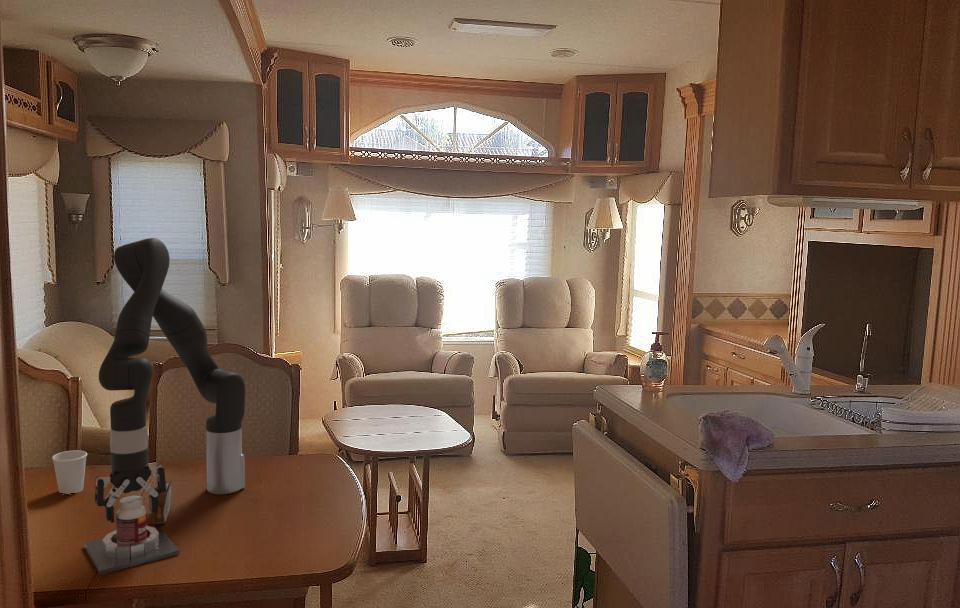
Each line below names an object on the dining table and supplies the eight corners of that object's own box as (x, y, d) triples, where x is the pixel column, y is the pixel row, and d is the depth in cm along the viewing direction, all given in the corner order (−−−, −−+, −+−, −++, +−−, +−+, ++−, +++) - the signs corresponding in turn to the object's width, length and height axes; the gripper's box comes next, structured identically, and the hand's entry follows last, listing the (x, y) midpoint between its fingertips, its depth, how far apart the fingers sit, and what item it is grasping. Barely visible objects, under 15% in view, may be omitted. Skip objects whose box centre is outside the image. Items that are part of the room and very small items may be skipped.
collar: (158, 529, 174) (158, 515, 174) (179, 554, 162) (178, 539, 161) (84, 547, 164) (83, 532, 164) (100, 575, 152) (99, 559, 151)
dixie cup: (90, 492, 196) (89, 456, 194) (54, 498, 191) (53, 462, 190) (86, 482, 202) (85, 448, 201) (52, 488, 198) (50, 453, 197)
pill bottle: (144, 551, 161) (142, 503, 159) (113, 553, 159) (112, 505, 158) (150, 539, 167) (148, 493, 165) (121, 541, 165) (119, 495, 164)
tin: (161, 506, 188) (160, 475, 187) (174, 505, 189) (173, 474, 188) (151, 530, 174) (150, 496, 173) (166, 529, 175) (165, 495, 174)
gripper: (158, 436, 167) (160, 503, 169) (89, 448, 158) (93, 519, 160) (168, 445, 162) (170, 514, 164) (97, 457, 153) (101, 530, 155)
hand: (132, 516), depth 162 cm, fingers open, 8 cm apart
